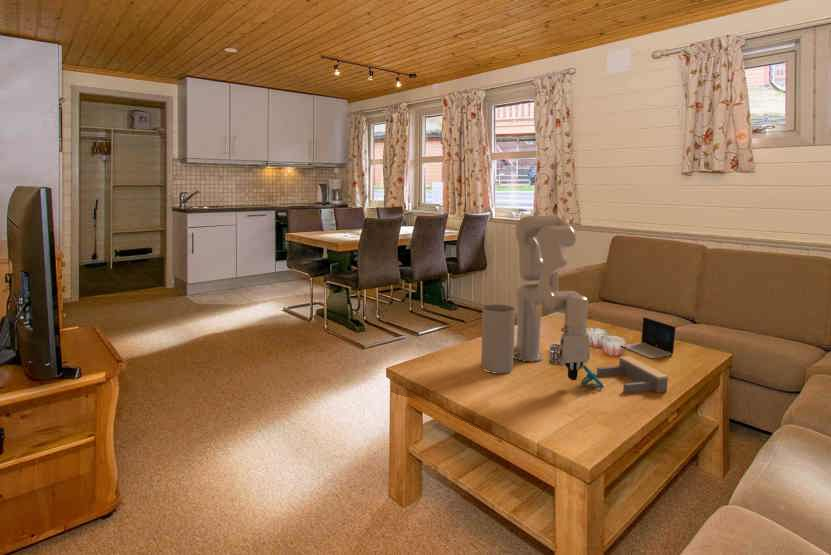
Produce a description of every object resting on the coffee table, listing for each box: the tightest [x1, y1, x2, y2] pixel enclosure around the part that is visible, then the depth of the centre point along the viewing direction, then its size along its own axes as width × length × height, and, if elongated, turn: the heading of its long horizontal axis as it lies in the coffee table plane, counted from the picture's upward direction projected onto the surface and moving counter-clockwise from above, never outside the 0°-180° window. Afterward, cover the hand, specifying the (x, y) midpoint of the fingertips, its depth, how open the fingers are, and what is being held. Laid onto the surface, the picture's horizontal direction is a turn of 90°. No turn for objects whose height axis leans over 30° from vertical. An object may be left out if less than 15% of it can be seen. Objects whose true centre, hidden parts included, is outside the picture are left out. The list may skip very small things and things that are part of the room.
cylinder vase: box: [480, 303, 516, 374], centre depth 201 cm, size 12×12×25 cm
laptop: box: [625, 316, 676, 359], centre depth 224 cm, size 18×12×13 cm
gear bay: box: [596, 355, 669, 394], centre depth 189 cm, size 15×22×6 cm
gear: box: [581, 364, 604, 388], centre depth 186 cm, size 11×6×10 cm
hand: (572, 379), depth 184 cm, fingers closed
